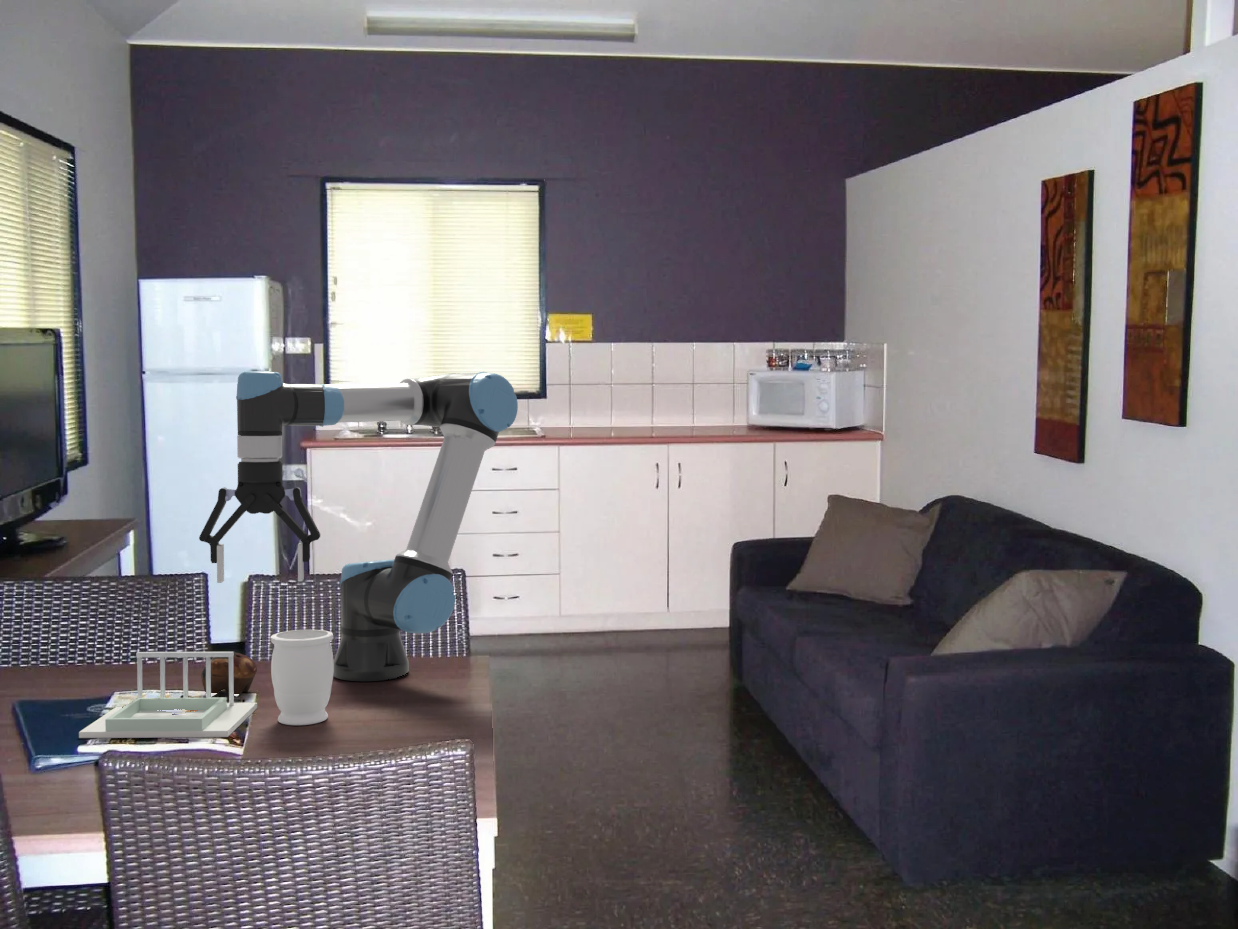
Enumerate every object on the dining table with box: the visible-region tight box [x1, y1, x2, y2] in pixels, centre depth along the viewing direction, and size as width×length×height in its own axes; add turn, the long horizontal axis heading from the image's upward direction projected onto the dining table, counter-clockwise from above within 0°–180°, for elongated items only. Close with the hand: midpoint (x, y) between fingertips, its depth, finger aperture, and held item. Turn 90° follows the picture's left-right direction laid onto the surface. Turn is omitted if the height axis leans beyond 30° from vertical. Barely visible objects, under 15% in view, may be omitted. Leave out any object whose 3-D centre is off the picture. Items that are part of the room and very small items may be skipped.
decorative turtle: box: [200, 652, 258, 695], centre depth 229 cm, size 10×15×8 cm, turn 4°
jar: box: [270, 629, 334, 726], centre depth 210 cm, size 11×10×15 cm
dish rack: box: [78, 651, 258, 739], centre depth 208 cm, size 24×19×11 cm
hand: (261, 581), depth 213 cm, fingers open, 13 cm apart
